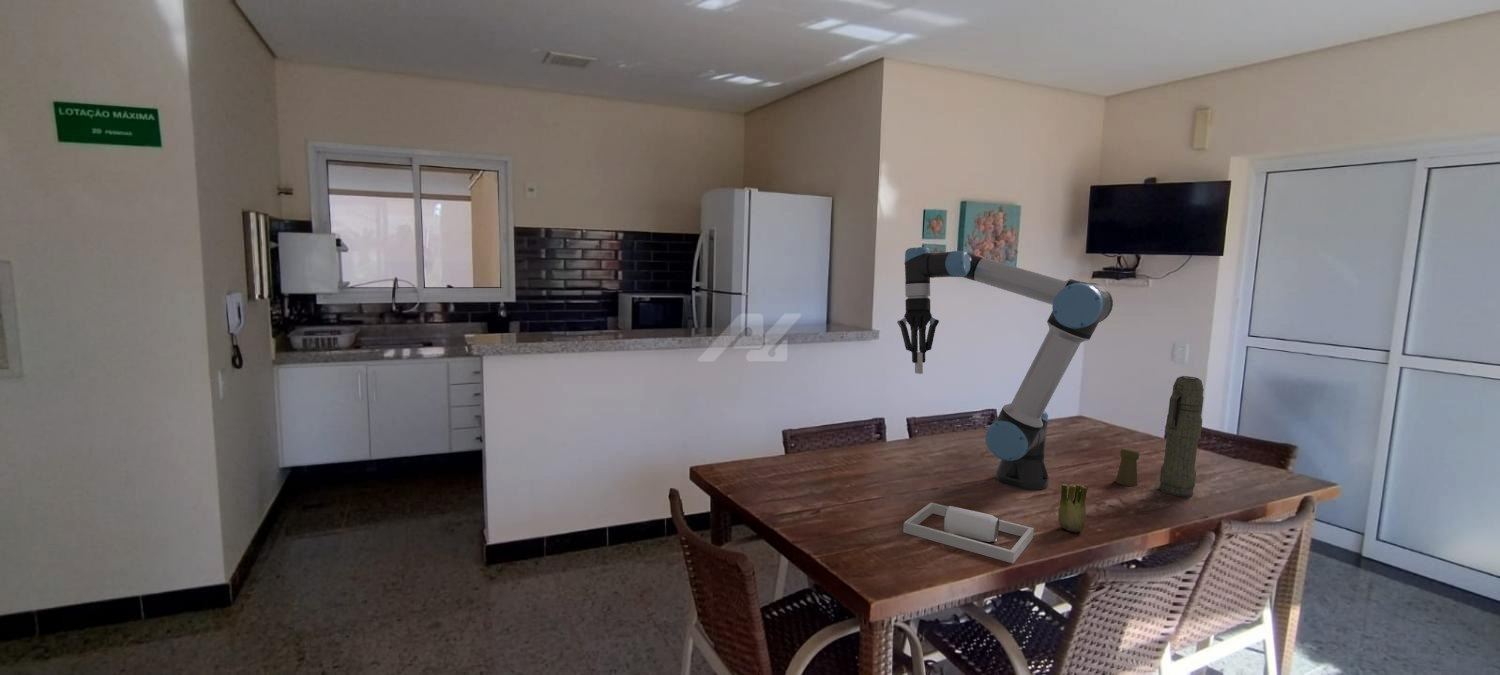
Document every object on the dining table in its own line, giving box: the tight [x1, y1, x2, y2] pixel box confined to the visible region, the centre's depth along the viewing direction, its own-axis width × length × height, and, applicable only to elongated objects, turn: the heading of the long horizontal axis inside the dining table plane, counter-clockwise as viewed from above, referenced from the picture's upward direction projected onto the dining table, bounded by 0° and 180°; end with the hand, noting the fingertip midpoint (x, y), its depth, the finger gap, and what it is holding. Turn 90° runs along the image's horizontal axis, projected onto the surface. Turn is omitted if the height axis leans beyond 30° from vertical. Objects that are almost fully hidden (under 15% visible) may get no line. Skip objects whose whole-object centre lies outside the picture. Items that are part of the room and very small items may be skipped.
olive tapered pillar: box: [1115, 447, 1140, 487], centre depth 209 cm, size 6×6×11 cm
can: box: [943, 505, 1000, 543], centre depth 164 cm, size 6×6×12 cm
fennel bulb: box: [1058, 483, 1088, 534], centre depth 170 cm, size 6×5×12 cm
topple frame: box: [902, 501, 1035, 564], centre depth 165 cm, size 26×18×2 cm
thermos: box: [1158, 375, 1205, 498], centre depth 201 cm, size 9×12×35 cm
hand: (918, 373), depth 211 cm, fingers closed
